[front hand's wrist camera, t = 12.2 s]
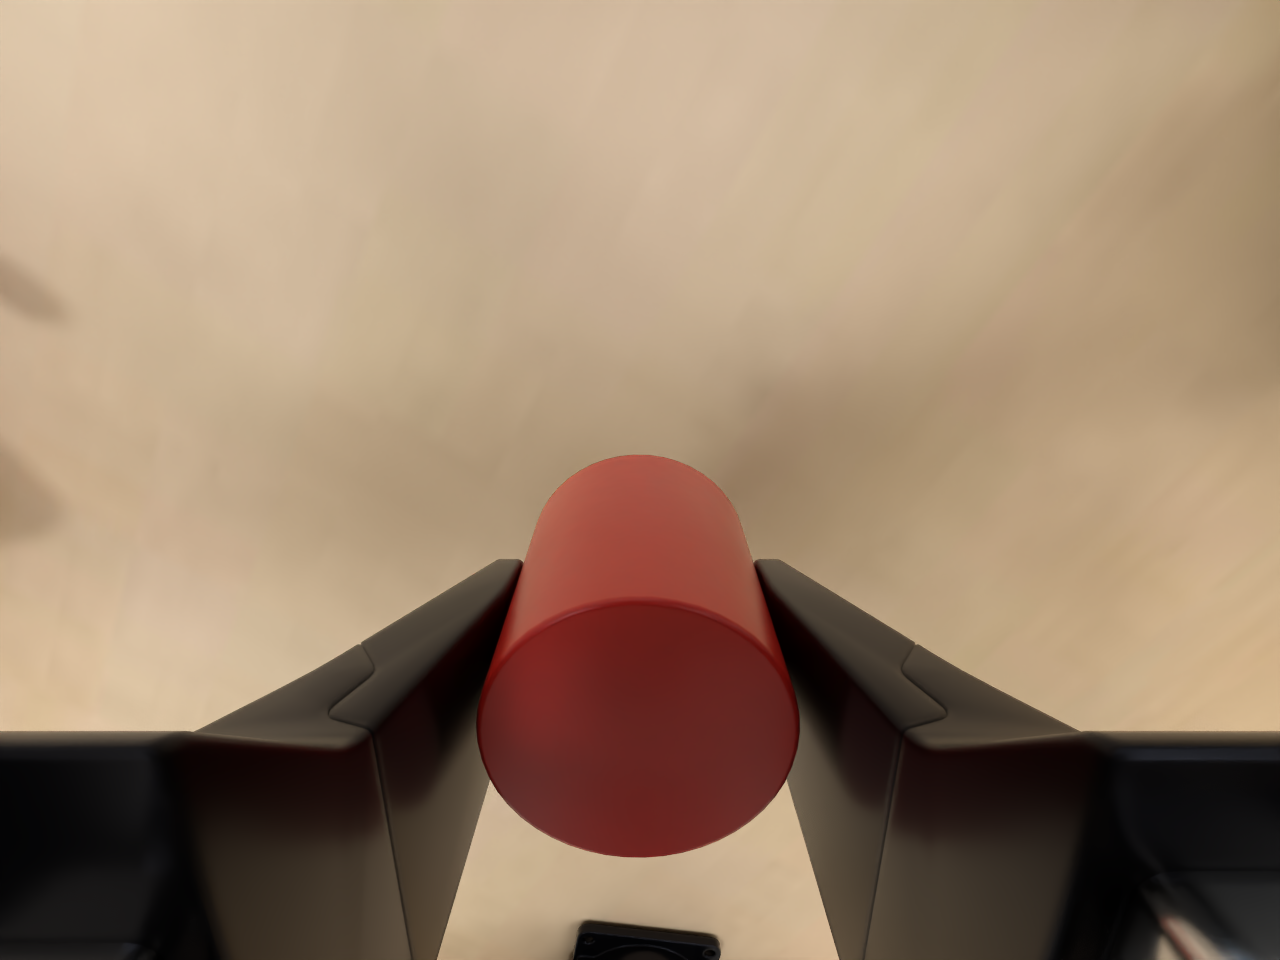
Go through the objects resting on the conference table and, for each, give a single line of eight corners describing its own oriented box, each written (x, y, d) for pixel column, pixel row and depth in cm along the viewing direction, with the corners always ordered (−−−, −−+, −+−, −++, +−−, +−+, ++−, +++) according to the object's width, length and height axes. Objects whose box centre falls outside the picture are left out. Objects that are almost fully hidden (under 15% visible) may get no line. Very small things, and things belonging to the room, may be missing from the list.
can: (530, 633, 13) (473, 849, 8) (537, 444, 11) (474, 584, 7) (729, 648, 13) (773, 870, 9) (759, 463, 12) (830, 613, 7)
